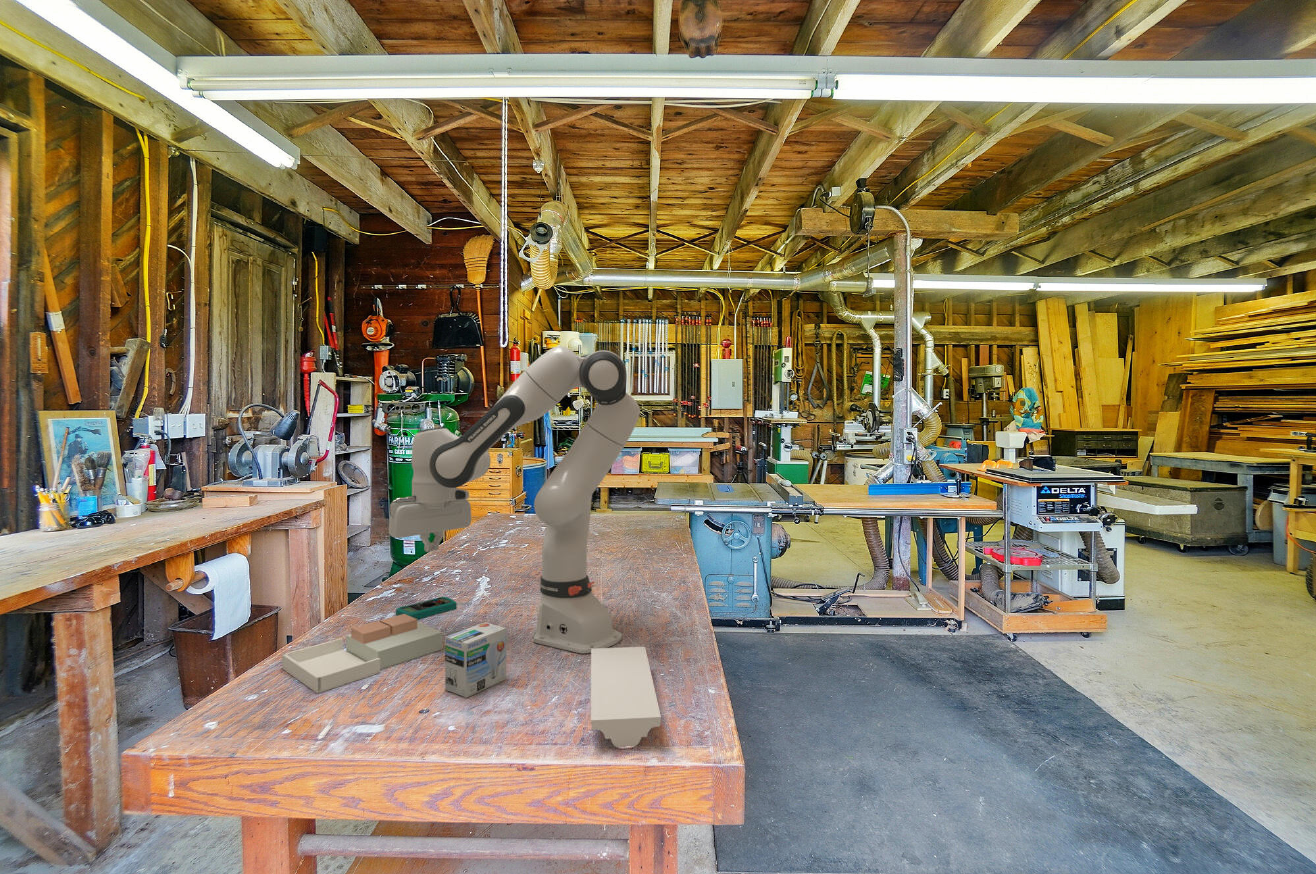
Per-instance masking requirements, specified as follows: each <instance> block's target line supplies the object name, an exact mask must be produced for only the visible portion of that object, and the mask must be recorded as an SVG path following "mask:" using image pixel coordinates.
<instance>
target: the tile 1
mask: <svg viewBox="0 0 1316 874" xmlns="http://www.w3.org/2000/svg"><path fill="white" fill-rule="evenodd" d="M350 634H351V638H353V639H355V640H357V641H359V642H361V643H363V644H366V643H369V642H373V641H376V640H380V639H383V638H387V637H390V626H388V625H385V624H383V623H381V622H380V620H379V621H378V620H375V621H373V622H372V621H371V622H368V623H363V624H361V625H358V626H353V627H350Z"/></svg>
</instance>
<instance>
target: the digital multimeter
mask: <svg viewBox="0 0 1316 874" xmlns="http://www.w3.org/2000/svg"><path fill="white" fill-rule="evenodd" d="M457 606H458V603H457V602H456V601H455V600H454V599H452V598H450V597H447V596H439V597H435V598H431V599H428V600H424V601H421V602H416V603H413V604H408V605H407V604H406V605H404V606H399V607H397V608H396V609H395V616H398V615H402V614H406V615H408V616H411V617H413V618H415V619H417V621H419V620H421V618H422V619H424V618H429V617H432V616H436V615H440V614H442V612H443V613H446V612H450V610H451V611H454V610H457V608H458V607H457ZM439 613H440V614H439ZM435 614H436V615H435ZM428 616H429V617H428Z"/></svg>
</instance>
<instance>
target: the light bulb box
mask: <svg viewBox="0 0 1316 874" xmlns="http://www.w3.org/2000/svg"><path fill="white" fill-rule="evenodd" d="M444 674H445V675H444V690H445V691H448V692H450V693H453V694H456V695H458V696H460V697H464V698H469V697H472V696H474V695H476V694H478V693H480V692H482V691H484V690H486V689H488V688H490V687H492V686H495V685H497V684H499V683H501V682H503V681H505V680H506V679H507V628H506V627H503V626H500V625H496V624H493V623H490V622H482V623H479V624H476V625H473V626H471V627H468V628H465V629H463V630H460V631H458V632H455V633H452V634H450V635H447V636H444Z"/></svg>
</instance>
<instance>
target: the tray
mask: <svg viewBox="0 0 1316 874" xmlns="http://www.w3.org/2000/svg"><path fill="white" fill-rule="evenodd" d="M281 668H282V670H284V671H285V672H287V673H288V674H289V675H291V676H292V677H293V678H295V679H296V680H298V681H299V682H301V683H302V684H303V685H305V686H306V687H308V688H309V689H311V690H312V691H314V692H315V693H316V694H320V693H324V692H326V691H329V690H333V689H335V688H338V687H341V686H344V685H348V684H350V683H353V682H357V681H360V680H362V679H365V678H369V677H371V676H374V675H376V674H378V675H379V674H380V673H381V669H380V658H377V659H373V660H370V661H367V662H365V661H363V660H361V659H359V658H357V657H356V656H354V655H352V654H350V653H349V652H347V651H346V649H344V638H343V637H341V638H336V639H333V640H330V641H326V642H323V643H319V644H315V645H312V646H311V645H310V646H307V647H304V648H301V649H297V650H293V651H290V652H286V653H283V654H281Z"/></svg>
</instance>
